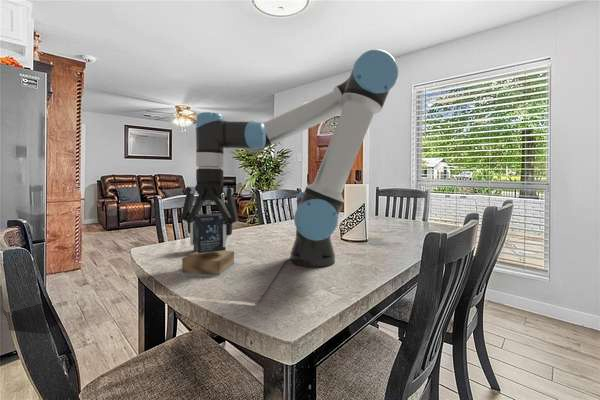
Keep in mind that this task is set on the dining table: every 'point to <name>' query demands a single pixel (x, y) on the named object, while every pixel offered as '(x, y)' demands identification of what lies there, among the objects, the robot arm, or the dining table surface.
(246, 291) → the dining table surface
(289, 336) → the dining table surface
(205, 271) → the base slab
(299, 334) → the dining table surface
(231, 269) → the board
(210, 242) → the box
